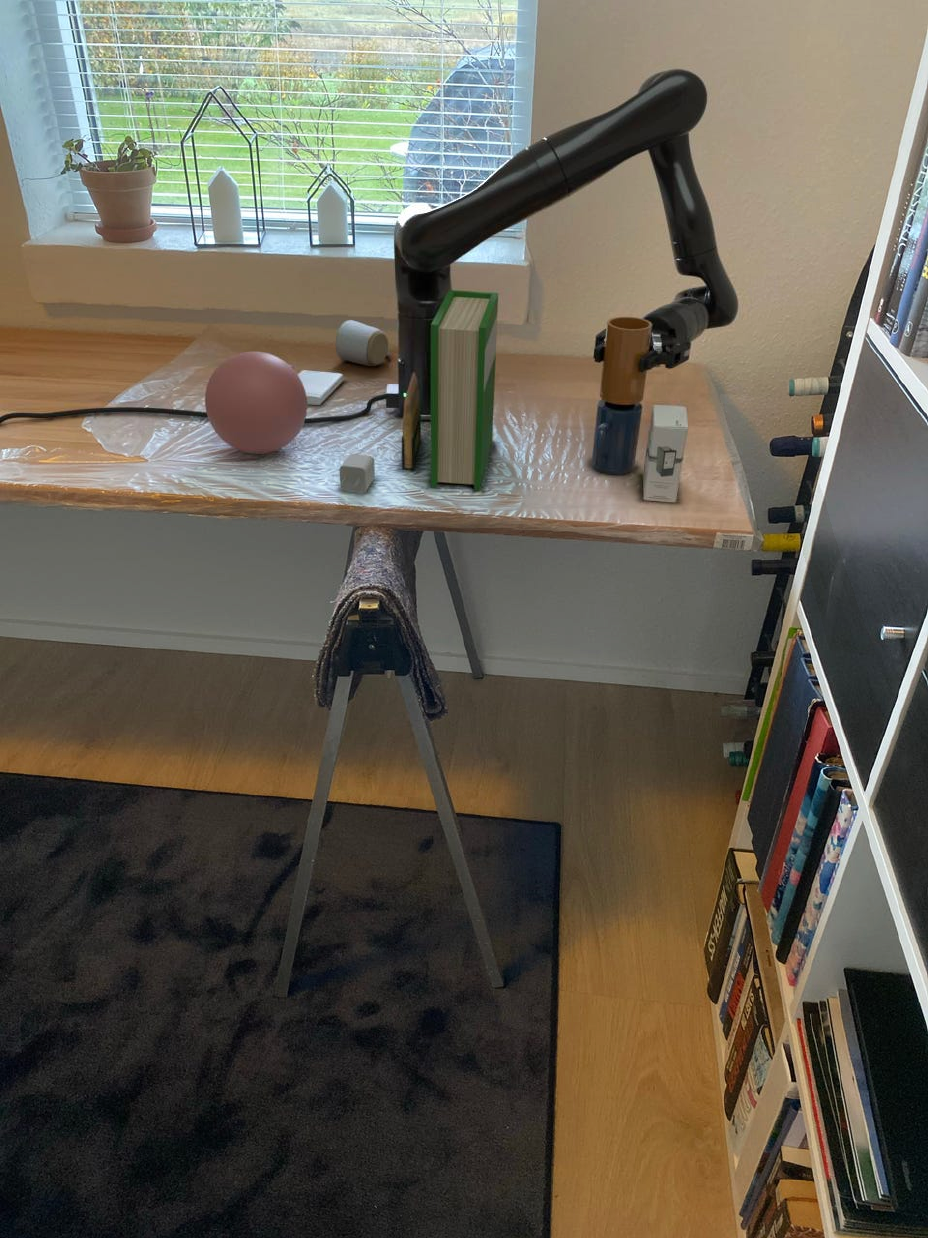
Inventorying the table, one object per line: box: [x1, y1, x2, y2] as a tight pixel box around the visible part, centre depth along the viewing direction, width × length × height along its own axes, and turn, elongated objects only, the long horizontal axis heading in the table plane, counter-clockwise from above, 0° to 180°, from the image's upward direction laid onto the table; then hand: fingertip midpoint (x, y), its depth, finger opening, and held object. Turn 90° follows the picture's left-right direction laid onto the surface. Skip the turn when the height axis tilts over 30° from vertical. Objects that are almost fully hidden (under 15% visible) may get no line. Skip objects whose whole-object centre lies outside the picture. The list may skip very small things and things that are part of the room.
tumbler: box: [599, 316, 652, 405], centre depth 137 cm, size 6×6×11 cm
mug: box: [591, 398, 643, 476], centre depth 142 cm, size 10×7×10 cm
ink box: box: [642, 404, 689, 504], centre depth 136 cm, size 9×5×12 cm, turn 172°
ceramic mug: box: [335, 319, 391, 367], centre depth 183 cm, size 11×8×8 cm
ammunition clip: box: [401, 372, 422, 471], centre depth 144 cm, size 11×2×12 cm, turn 177°
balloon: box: [204, 351, 308, 455], centre depth 146 cm, size 15×20×15 cm
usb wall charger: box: [338, 453, 376, 494], centre depth 136 cm, size 4×7×4 cm, turn 168°
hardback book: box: [430, 289, 499, 492], centre depth 139 cm, size 18×7×24 cm, turn 173°
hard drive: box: [297, 369, 344, 406], centre depth 170 cm, size 2×8×12 cm
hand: (619, 360), depth 135 cm, fingers closed on tumbler, 6 cm apart
